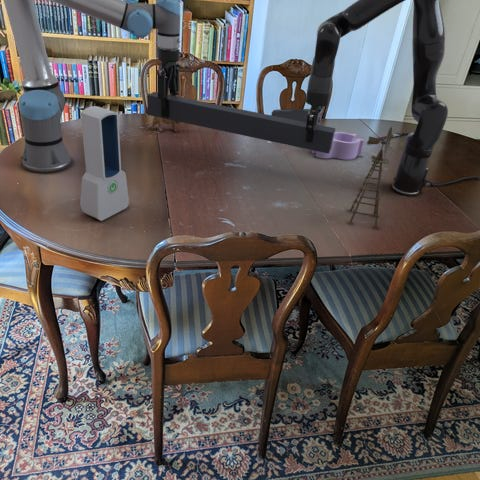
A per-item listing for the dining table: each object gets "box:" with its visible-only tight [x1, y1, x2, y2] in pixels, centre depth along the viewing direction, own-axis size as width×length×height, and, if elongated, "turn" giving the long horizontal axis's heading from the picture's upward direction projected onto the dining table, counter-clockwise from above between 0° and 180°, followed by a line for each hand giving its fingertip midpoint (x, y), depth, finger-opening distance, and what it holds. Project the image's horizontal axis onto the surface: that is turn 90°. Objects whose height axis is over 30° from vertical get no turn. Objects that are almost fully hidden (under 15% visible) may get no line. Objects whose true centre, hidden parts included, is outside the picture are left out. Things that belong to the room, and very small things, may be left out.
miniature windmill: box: [349, 126, 393, 228], centre depth 139 cm, size 9×8×30 cm
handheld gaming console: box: [270, 108, 320, 125], centre depth 207 cm, size 23×3×10 cm, turn 108°
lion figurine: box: [149, 116, 181, 133], centre depth 195 cm, size 15×5×9 cm, turn 110°
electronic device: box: [79, 105, 130, 222], centre depth 129 cm, size 12×8×30 cm, turn 148°
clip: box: [311, 131, 366, 161], centre depth 190 cm, size 20×12×7 cm, turn 109°
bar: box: [146, 91, 336, 154], centre depth 165 cm, size 68×5×7 cm, turn 71°
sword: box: [376, 132, 410, 141], centre depth 214 cm, size 31×3×1 cm, turn 126°
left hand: (168, 114), depth 173 cm, fingers closed on bar, 5 cm apart
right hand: (310, 139), depth 160 cm, fingers closed on bar, 5 cm apart
